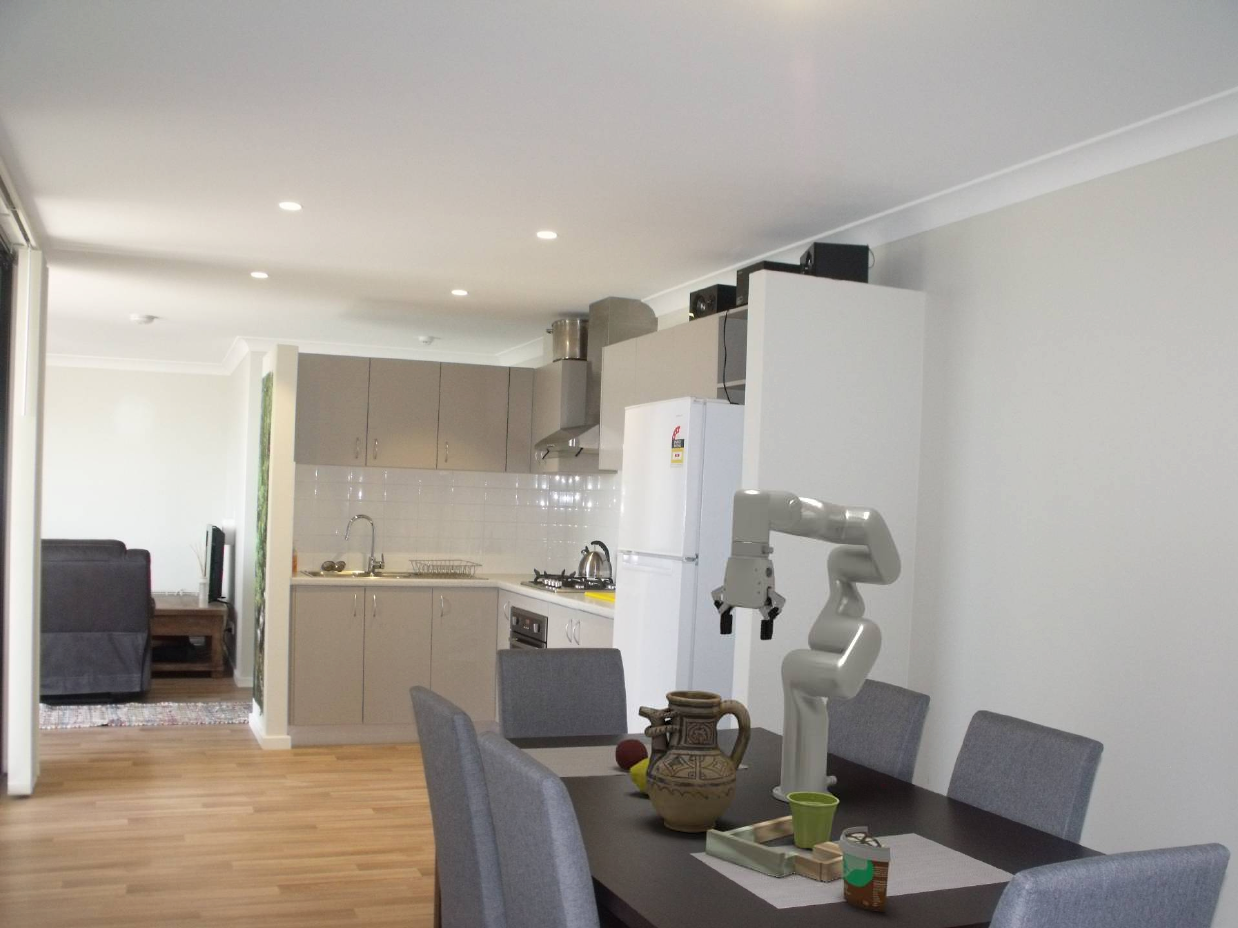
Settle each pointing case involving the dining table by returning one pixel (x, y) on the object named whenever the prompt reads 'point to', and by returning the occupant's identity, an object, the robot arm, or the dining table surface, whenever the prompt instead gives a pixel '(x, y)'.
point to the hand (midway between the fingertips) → (745, 636)
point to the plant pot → (812, 817)
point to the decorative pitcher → (693, 759)
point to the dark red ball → (630, 753)
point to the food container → (864, 869)
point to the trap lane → (774, 851)
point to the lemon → (640, 774)
